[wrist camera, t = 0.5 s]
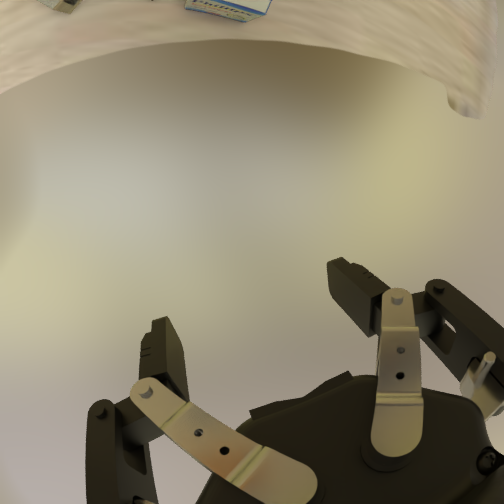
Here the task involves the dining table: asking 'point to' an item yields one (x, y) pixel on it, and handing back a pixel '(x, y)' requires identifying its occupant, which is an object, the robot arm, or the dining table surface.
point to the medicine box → (231, 8)
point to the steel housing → (61, 5)
